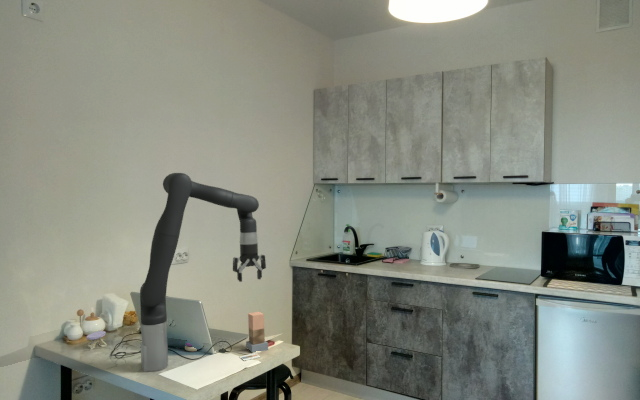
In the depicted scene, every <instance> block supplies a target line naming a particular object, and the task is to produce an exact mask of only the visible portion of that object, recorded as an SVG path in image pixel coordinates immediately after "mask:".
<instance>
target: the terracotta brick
mask: <svg viewBox="0 0 640 400" xmlns="http://www.w3.org/2000/svg"><path fill="white" fill-rule="evenodd" d="M247 316H248V318H247V319H248V321H247V322H248V329H249V328H250V329H252V330H258V329H264V330H265V313H262V312H261V311H255V312H249V313H247Z"/></svg>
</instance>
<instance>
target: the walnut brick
mask: <svg viewBox="0 0 640 400" xmlns="http://www.w3.org/2000/svg"><path fill="white" fill-rule="evenodd" d="M265 336H266V335H265V328H264V329H258V330H252V329H250V328H249V327H248V341H249V342H250V343H251V344H253V345H256V344H261V343H265V341H266V340H265V339H266V338H265Z"/></svg>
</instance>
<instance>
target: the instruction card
mask: <svg viewBox="0 0 640 400" xmlns="http://www.w3.org/2000/svg"><path fill="white" fill-rule="evenodd" d="M239 358H240V359H241V358H242V359H243V360H244V361H243V360H242V359H241V360H242V361H243V362H245V360H246V361H251V360H255V359H258V358H261V356H260V355H259V354H257V353H250V354H245V355H241V356H239Z"/></svg>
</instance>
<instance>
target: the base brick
mask: <svg viewBox="0 0 640 400" xmlns="http://www.w3.org/2000/svg"><path fill="white" fill-rule="evenodd" d="M245 347H247V348H248V349H249V350H250V351H251V352H252V353H251V352H250V351H249V350H248V351H249V352H250V353H251V354H254V353H253V352H256V351H261V352H265V351H269V342H268V341H266V340H265V343H261V344H256V345H253V344H251V343H250V342H249V340H246V341H245Z"/></svg>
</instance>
